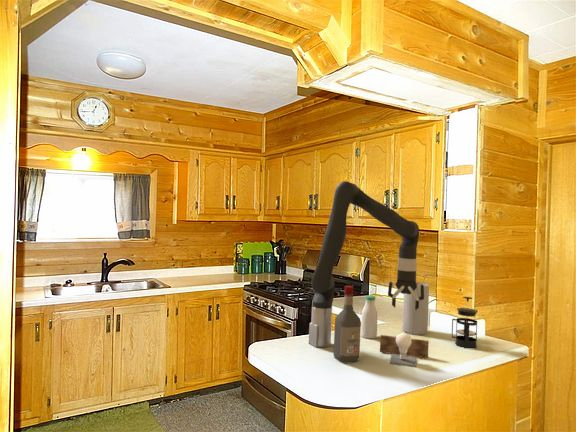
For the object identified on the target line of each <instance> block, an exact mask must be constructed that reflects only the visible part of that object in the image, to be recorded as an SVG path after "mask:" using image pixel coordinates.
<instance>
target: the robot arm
mask: <svg viewBox="0 0 576 432" xmlns="http://www.w3.org/2000/svg"><path fill="white" fill-rule="evenodd" d="M350 204H351V205H354V206H355V207H359V208H360V209H362V210H363V211H365V212H367V214H369V216H371V217H372V218H374V219H375V220H377V221H379V222H380V223H381V224H383V225H385V226H386V227H388V228H390V229H391V230H392V231H394V232H395V233H396V234H397V235H398V236H400V237H401V243H400V245H399V247H398V249H399V250H398V260H397V271H396V272H397V275H396V282H395V281H393V282H392V281H389V282H388V290H387V291H388V292H387V296H388V297H390V298H391V306H392V307H393V308H396V306H397V305H396V302H397V300H396V299H397V298H396V297H398V296H399V294H403V295H404V294H411V293H412V295H413V296H414V297H415V299H416V300H415V310H417V309H418V308H419V301H420V300H424V285H423V284H421V285H417V284H416V282H417V269H418V267H417V266H418V265H417V264H418V262H417V256H418V254H417V253H418V249H417V248H418V243H419V237H420V227H419V225H418V224H417V222H415V221H413V220H408V219H406V218H405V217H403V216H401V215H400V214H399V213H398V212H397V211H395V210H393V209H392V208H390V207H389V206H387V205H385V204H383V203H381V202H380V201H378V200H376V199H374V198H372V197H371V196H369V194H367V193H365V192H364V191H363V190H362V189H361V188H360V187H359V186H357V185H356V184H355V183H352V182H350V181H347V180H345V181H341V182H340V183H338V184H337V186H336V188H335V190H334V197H333V200H332V206H331V212H330V215H329V219H328V222H327V225H326V230H325V232H324V237H323V240H322V243H321V244H322V245H321V248H320V253H319V258H318V261H317V265H316V266H315V270H314V272H313V275H312V277H311V282H310V283H311V289H312V290H313V292H314V295H313V298H312V300H311V319H310V321H311V322H309V324H308V325H309V327H308V344H309V345H311V346H313V347H315V348H328V347H330V346H331V345H332V344H331V343H332V317H333V316H332V315H333V302H334V298H335V278H334V276H333V270H334V268H335V267H334V266H335V264H336V261H337V260H338V257H339V255H340V254H341V252H342V249H343V246H344V243H345V239H346V237H347V228H348V227H347V215H348V211H349V207H350ZM394 287H396V288H397V290H396V291H395V292H394V293H392V290H393V288H394ZM417 287H418V288H419V290H421V296H420V297H418V295H417V294H416V292H415V291H414V290H415V289H416V288H417Z"/></svg>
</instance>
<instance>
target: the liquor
mask: <svg viewBox="0 0 576 432" xmlns="http://www.w3.org/2000/svg"><path fill="white" fill-rule="evenodd" d="M354 288H355V287H354V286H353V285H345V286H344V290H343V291H344V292H343V293H344V300H343V301H344V303H343V308H342V310H341V311H340V312H339V313H338V314H337V315H336V316H335V318H334V335H333V337H334V338H333V357H334V359H336V361H338V362H339V363H344V364H350V363H357V362H358V361H359V359H360V354H361V353H360V352H361V351H360V350H361V348H360V347H361V344H360V343H361V318H360V317H359V316H358V314H357V313H356V312H355V310H354V306H353V305H354Z"/></svg>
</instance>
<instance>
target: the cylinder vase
mask: <svg viewBox="0 0 576 432" xmlns="http://www.w3.org/2000/svg"><path fill="white" fill-rule="evenodd" d="M416 284H417V285H421V284H423V285H424V300H420V301H419V308H418V309H417V310H415V300H416V299H415V297H414V296H413V295H412V293H411V294H403V301H402V302H403V303H402V304H403V305H402V306H403V307H402V331H403V333H406V334H408V335H409V334H411V335H416V336H421V335H422V336H423V335H427V333H428V331H429V329H428V326H429V325H428V323H429V302H430V301H429V300H430V285H429V283H426V282H425V283H424V282H417V281H416ZM414 291H415V292H416V294H417V295H418V297H420V296H421V290H419V288H418V287H417V288H416V289H415V290H414Z"/></svg>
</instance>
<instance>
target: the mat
mask: <svg viewBox="0 0 576 432" xmlns="http://www.w3.org/2000/svg"><path fill="white" fill-rule="evenodd" d="M390 354H391V355H390V360H389V363H390V365H398V366H406V367H412V368H417V358H416V356H409V355H406V359H405V360H402V359H400V354H394V353H390Z"/></svg>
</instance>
